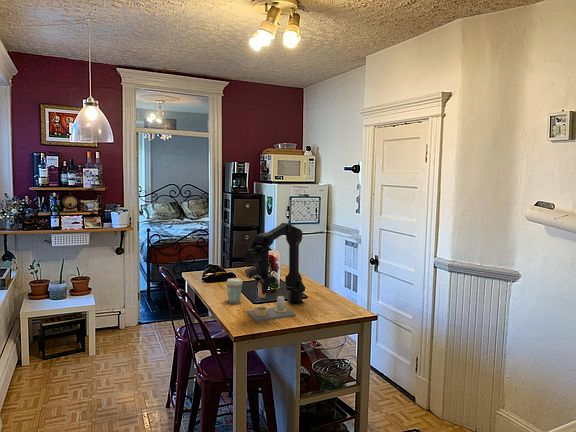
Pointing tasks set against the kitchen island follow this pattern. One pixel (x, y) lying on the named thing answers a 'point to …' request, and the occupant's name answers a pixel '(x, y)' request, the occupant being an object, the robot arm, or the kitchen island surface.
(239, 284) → the coffee cup
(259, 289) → the brown peg
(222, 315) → the kitchen island surface
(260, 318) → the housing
